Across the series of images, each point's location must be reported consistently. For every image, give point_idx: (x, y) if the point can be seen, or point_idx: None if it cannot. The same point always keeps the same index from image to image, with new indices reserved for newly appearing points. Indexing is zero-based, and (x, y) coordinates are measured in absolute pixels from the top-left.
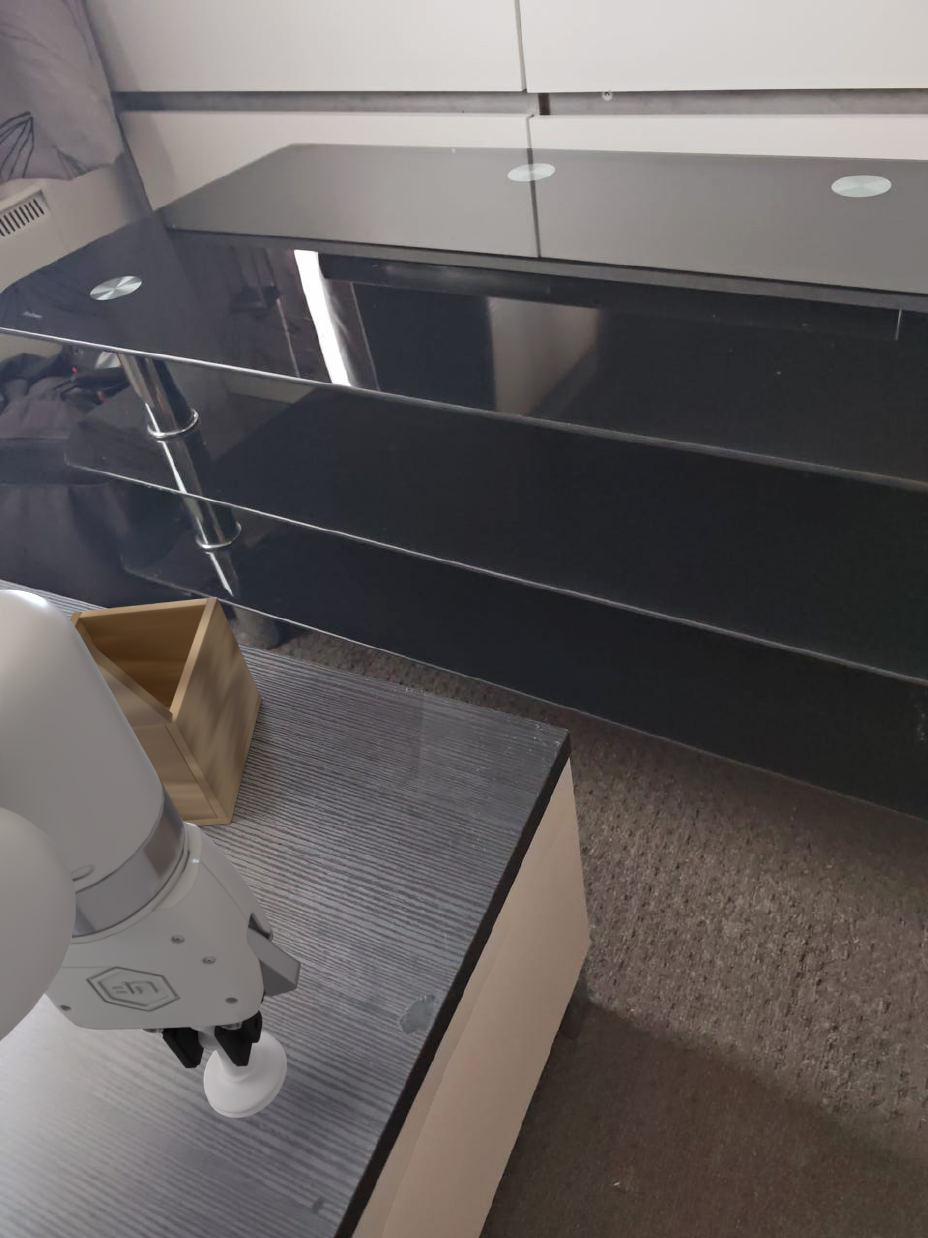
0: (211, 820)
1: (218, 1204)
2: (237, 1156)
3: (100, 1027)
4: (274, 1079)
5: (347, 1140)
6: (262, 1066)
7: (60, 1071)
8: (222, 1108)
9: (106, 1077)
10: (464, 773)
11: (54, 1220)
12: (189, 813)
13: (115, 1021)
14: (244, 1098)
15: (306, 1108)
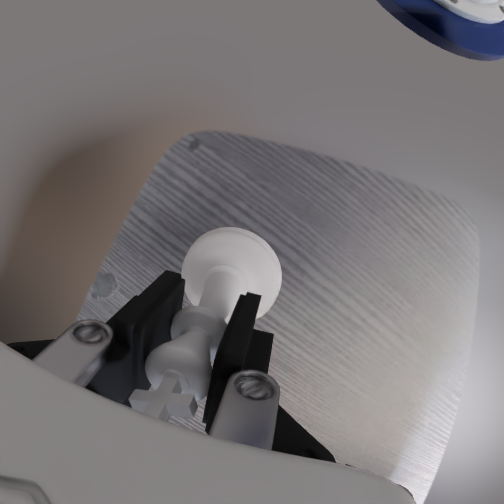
0: None
1: (293, 168)
2: (273, 207)
3: (321, 477)
4: (188, 257)
5: (164, 194)
6: (199, 276)
7: (437, 332)
8: (253, 241)
9: (400, 318)
10: None
11: (448, 204)
12: None
13: (236, 500)
14: (222, 244)
15: (201, 233)
